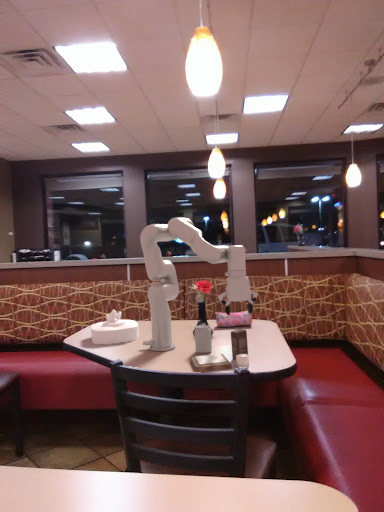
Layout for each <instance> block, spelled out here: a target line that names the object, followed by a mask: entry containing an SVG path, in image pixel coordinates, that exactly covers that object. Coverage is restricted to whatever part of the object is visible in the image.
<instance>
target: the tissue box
mask: <svg viewBox="0 0 384 512" xmlns="http://www.w3.org/2000/svg"><path fill="white" fill-rule="evenodd" d="M121 317H122V311H118V312H117V310H115V309H112V310H111V312H110V313H106V314H105V318H106V320H105V321H99V322H96V323H95V322H94V323H92V324H91V325H90V335H91V342H92V343H93V344H94V345H99V344H105V345H112V344H111V343H115V344H121V342H123V343H130V342H134V341H136V339H137V340H138V338H139V339H140V330H139V329H140V328H139V323H138V322H137V321H136V320H134V319H133V320H132V319H122V318H121ZM129 341H130V342H129Z"/></svg>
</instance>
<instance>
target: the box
mask: <svg viewBox="0 0 384 512" xmlns="http://www.w3.org/2000/svg"><path fill="white" fill-rule="evenodd" d="M230 343H231V354H232V360H235V361H236V355H238V354H247V355H249V348H248V332H247V330H246V329H244V328H243V329H241V328H239V329H235V330H232V331H230Z"/></svg>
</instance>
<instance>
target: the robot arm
mask: <svg viewBox="0 0 384 512" xmlns="http://www.w3.org/2000/svg"><path fill="white" fill-rule="evenodd" d="M177 239H179V240H180V241H182V242H183V243H185V244H186V245H187V246H189V247H190V249H191V250H192V251H193V253H194V254H195V255H196V256H198V257H199V258H200V259H202V260H204V261H205V262H208V263H209V264H212V265H216V264H222V263H227V271H226V272H225V273H224V275H225V276H227V278H226V285H225V291H224V292H222V293H221V294H219V295H218V296H217V298H218V299H219V301H220V302H221V303H222V304H223V305H224V309H225V310H224V311H225V313H227V315H230V313H231V311H230V310H231V309H230V304H231V302H233V303H235V302H243V301H244V302H245V301H247V310H248V312H249V313H250V314H251V313H252V314H253V311H254V310H253V305H254V303H255V301H256V300H257V298H258V296H259V293H258V292H256V291H253V290H251V285H250V279H249V276H247V267H246V250H245V246H244V245H241V244H238V245H213V244H211V243H210V242H208V241H206V240H205V239H204V238H203V231H201V230H200V229H198V228H197V227H195V225H194V222H193V221H192V220H191V219H190V218H187V217H179V216H178V217H173V218H171V219H170V220H169V221H168V222H167V224H166V223H161V224H160V223H152V224H149V225H147V226H145V227H144V228H143V230H142V231H141V232H140V238H139V240H140V241H139V242H140V247H141V250H142V253H143V259H144V265H145V270H146V274H147V277H148V279H149V280H151V281H160V282H157V283H154V284H152V285H151V286H149V288H148V290H147V297H148V301H149V307H150V308H149V309H150V323H151V339H149V340H143V341H142V345H143V346H145V347H146V346H149V347H148V348H149V350H150V351H153V352H166V351H167V352H168V351H171V350H174V349H175V348H176V344H175V343H174V342H173V338H172V337H173V336H172V335H173V334H172V317H171V316H172V315H171V308H170V305H169V303H168V302H169V301H173V300H176V298H178V295H179V292H180V289H179V287H180V286H179V282H178V277H177V272H176V267H175V265H174V264H173V262H171V260H169V259H163V256H162V251H161V248H160V246H159V245H158V242H171V241H174V240H177ZM252 295H253V296H252ZM224 298H226V300H224Z"/></svg>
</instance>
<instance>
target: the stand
mask: <svg viewBox="0 0 384 512" xmlns="http://www.w3.org/2000/svg"><path fill="white" fill-rule="evenodd" d="M190 362H191V364H192V366H193V369H194V371H195V372H196V373H199V372H200V373H201V372H212V371H219V370H220V371H221V370H222V371H223V370H229V369H230V370H231V369H232V363H231V362H230V361H229V360H228V358H227V356H225V354H223V353H218V354H206V355H197V356H196V355H195V356H190Z"/></svg>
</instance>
